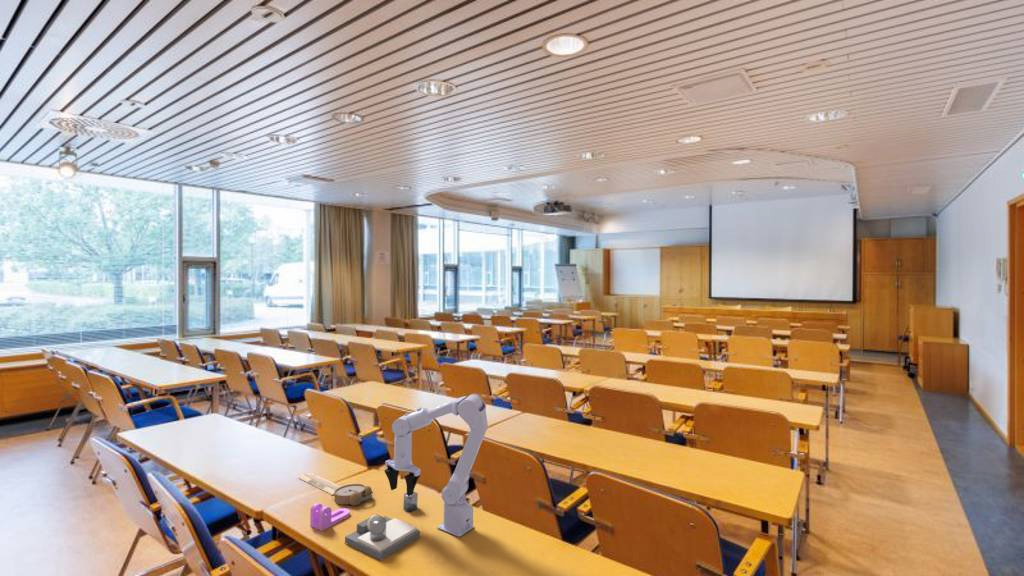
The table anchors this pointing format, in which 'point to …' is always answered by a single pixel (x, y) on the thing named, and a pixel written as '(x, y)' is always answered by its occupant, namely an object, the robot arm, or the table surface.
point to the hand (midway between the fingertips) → (401, 491)
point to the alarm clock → (352, 494)
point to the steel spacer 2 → (410, 502)
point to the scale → (395, 539)
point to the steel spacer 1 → (377, 529)
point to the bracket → (326, 516)
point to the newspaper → (320, 482)
